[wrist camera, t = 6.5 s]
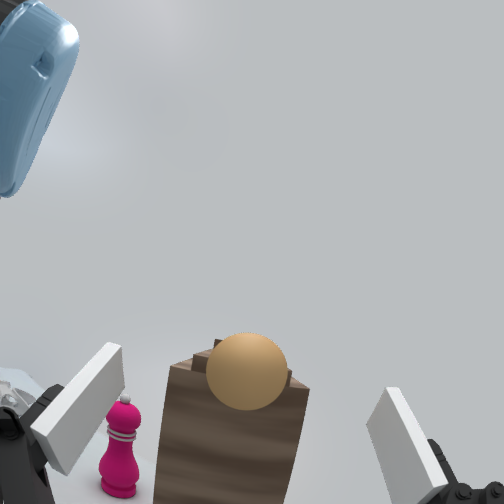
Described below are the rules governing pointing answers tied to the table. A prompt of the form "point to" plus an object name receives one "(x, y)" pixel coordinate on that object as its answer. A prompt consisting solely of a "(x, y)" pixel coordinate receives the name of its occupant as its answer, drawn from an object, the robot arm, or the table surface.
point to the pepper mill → (120, 450)
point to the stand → (225, 442)
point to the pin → (246, 371)
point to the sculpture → (20, 396)
